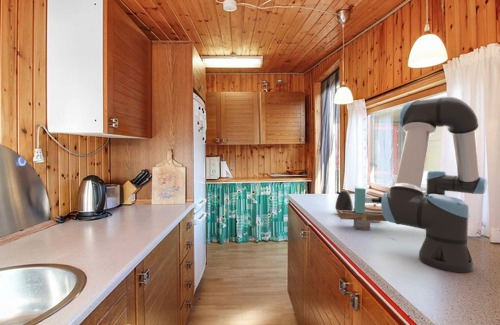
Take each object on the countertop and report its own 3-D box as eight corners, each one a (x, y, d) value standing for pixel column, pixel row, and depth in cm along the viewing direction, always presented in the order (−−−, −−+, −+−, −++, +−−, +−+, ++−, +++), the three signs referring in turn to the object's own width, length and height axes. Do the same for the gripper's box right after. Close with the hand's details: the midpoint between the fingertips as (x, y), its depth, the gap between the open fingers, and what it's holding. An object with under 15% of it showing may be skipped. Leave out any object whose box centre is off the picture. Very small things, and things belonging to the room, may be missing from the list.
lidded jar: (380, 218, 154) (380, 202, 153) (388, 223, 143) (388, 206, 143) (361, 217, 155) (361, 202, 154) (367, 222, 144) (368, 205, 144)
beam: (387, 231, 129) (387, 215, 128) (340, 229, 131) (341, 213, 131) (381, 227, 136) (382, 211, 135) (337, 225, 138) (338, 210, 138)
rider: (365, 219, 130) (366, 189, 129) (356, 218, 130) (357, 189, 130) (361, 216, 136) (362, 187, 136) (353, 215, 137) (354, 187, 136)
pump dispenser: (331, 212, 166) (332, 189, 166) (346, 212, 168) (347, 188, 168) (340, 216, 156) (341, 191, 156) (356, 216, 158) (356, 191, 158)
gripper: (420, 212, 124) (368, 209, 126) (407, 206, 137) (360, 204, 139) (421, 196, 123) (369, 194, 126) (407, 192, 136) (360, 190, 139)
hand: (364, 199), depth 133 cm, fingers closed
